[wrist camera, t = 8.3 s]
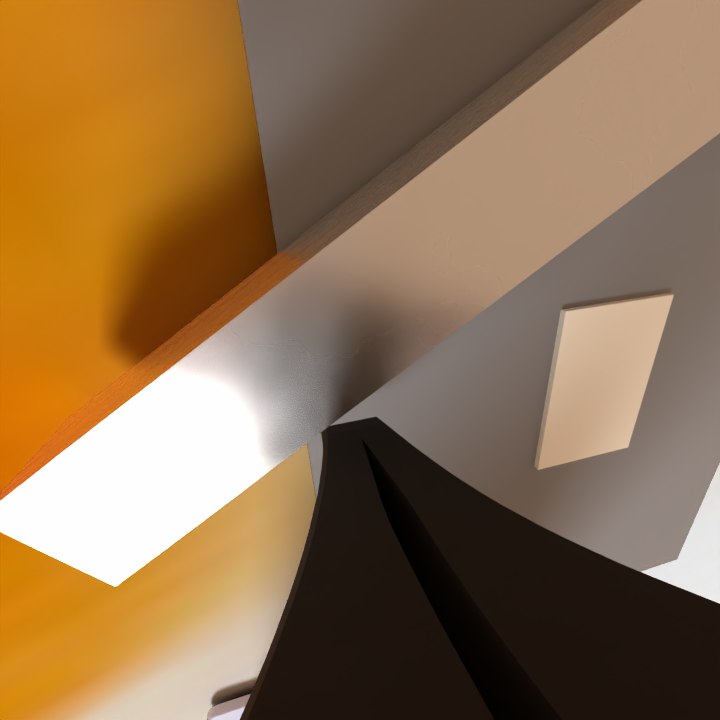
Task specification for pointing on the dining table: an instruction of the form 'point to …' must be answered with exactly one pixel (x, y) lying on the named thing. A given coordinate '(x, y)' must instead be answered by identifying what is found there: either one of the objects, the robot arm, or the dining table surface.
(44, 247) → the dining table surface
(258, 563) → the dining table surface
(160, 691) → the dining table surface
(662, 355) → the label board
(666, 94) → the swing bar
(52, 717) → the dining table surface
